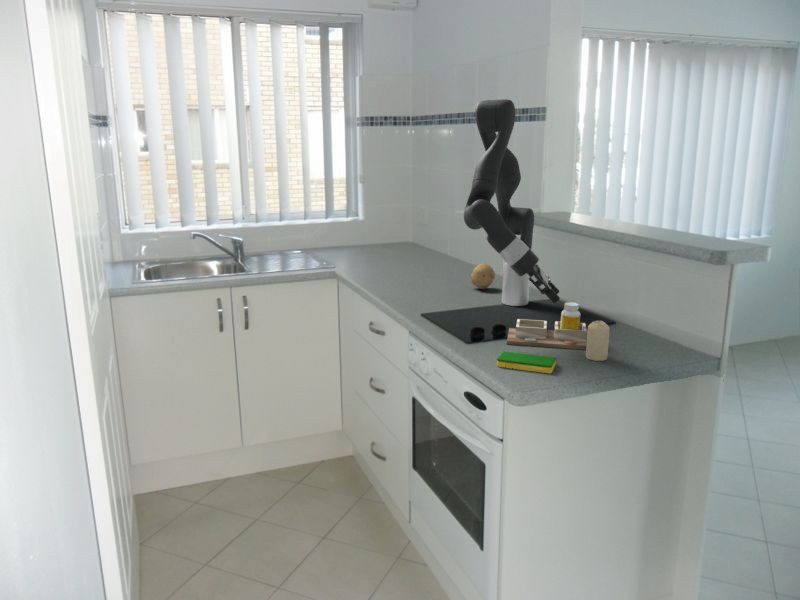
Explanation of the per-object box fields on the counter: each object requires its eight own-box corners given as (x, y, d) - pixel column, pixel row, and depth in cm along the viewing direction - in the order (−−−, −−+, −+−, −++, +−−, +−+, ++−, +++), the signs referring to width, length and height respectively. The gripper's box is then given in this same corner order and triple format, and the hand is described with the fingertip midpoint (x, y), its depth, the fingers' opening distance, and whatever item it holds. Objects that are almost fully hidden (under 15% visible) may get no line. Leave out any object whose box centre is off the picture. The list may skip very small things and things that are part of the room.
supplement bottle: (557, 333, 194) (559, 301, 192) (575, 333, 195) (577, 301, 192) (562, 338, 189) (565, 306, 187) (581, 338, 190) (583, 306, 187)
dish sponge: (502, 359, 177) (503, 350, 176) (555, 366, 172) (556, 357, 171) (496, 367, 170) (496, 358, 170) (551, 375, 165) (551, 365, 165)
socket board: (509, 331, 200) (509, 318, 199) (591, 336, 195) (592, 323, 194) (506, 344, 188) (507, 330, 187) (594, 350, 183) (595, 336, 182)
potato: (496, 292, 248) (497, 266, 246) (472, 292, 248) (473, 266, 246) (491, 286, 257) (492, 261, 255) (469, 287, 257) (469, 261, 254)
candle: (606, 362, 173) (609, 325, 171) (584, 359, 175) (587, 323, 173) (608, 355, 178) (611, 320, 176) (586, 353, 180) (589, 318, 178)
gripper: (527, 252, 182) (568, 294, 182) (529, 243, 195) (566, 283, 196) (507, 270, 184) (547, 312, 185) (509, 260, 198) (547, 299, 198)
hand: (557, 297), depth 190 cm, fingers open, 8 cm apart
